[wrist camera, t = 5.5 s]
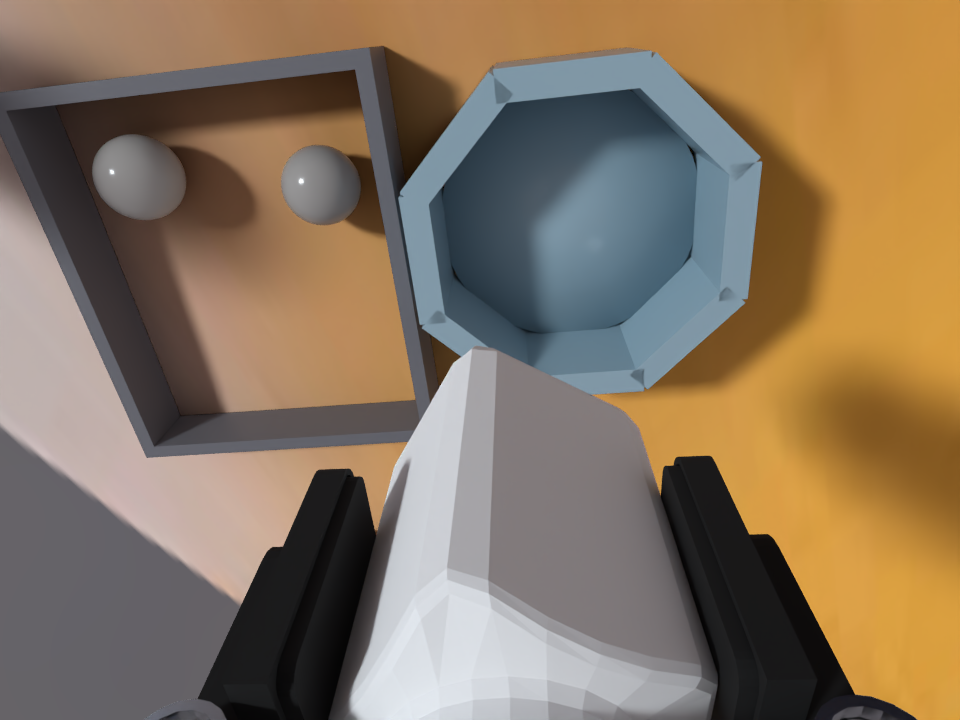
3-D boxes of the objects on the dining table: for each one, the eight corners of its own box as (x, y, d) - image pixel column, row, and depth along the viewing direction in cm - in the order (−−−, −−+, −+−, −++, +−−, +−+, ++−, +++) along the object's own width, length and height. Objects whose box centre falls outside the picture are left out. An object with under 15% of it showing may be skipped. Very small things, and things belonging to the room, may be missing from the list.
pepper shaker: (545, 534, 14) (598, 1266, 6) (388, 468, 13) (187, 1198, 5) (645, 407, 12) (928, 1201, 4) (469, 323, 12) (369, 1084, 3)
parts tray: (33, 88, 24) (-18, 94, 21) (383, 45, 22) (369, 47, 20) (173, 426, 31) (146, 457, 29) (442, 409, 30) (436, 439, 28)
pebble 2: (287, 143, 24) (259, 156, 22) (360, 135, 24) (341, 148, 21) (304, 217, 26) (281, 238, 23) (374, 210, 25) (358, 231, 23)
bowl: (401, 74, 23) (378, 82, 19) (729, 35, 22) (775, 36, 18) (444, 354, 29) (433, 405, 25) (706, 335, 27) (738, 384, 24)
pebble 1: (110, 133, 24) (57, 146, 22) (185, 124, 24) (142, 136, 21) (139, 212, 26) (93, 233, 23) (210, 204, 26) (173, 226, 23)
